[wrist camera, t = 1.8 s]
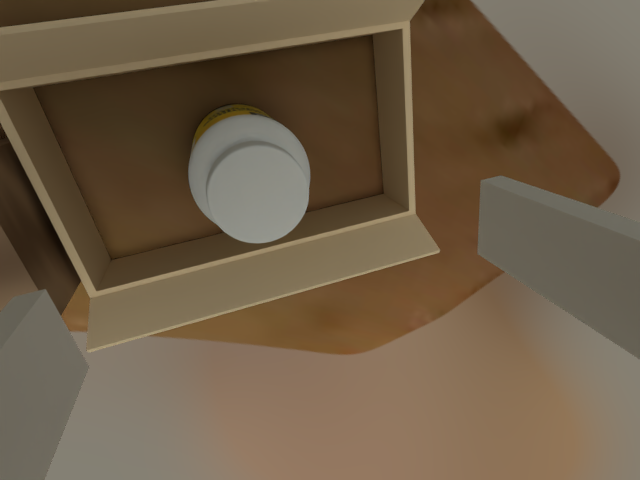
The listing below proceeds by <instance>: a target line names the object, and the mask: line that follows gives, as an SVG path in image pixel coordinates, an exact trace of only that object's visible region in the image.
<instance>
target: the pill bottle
mask: <svg viewBox="0 0 640 480" xmlns="http://www.w3.org/2000/svg"><path fill="white" fill-rule="evenodd" d="M188 179H189V186H190V190H191V193H192V196H193V198H194V200H195V202H196V204H197V205H198V207H199V208H200V210H201V211H202V212H203V213H204V214H205V216H207V217H208V218H209V219H210V220H211V221H212V222H214V223H215V224H217V225H218V226H219V227H220V228H221V229H222V230H223V231H224V232H225V233H227V234H228V235H229V236H231V237H233V238H235V239H237V240H240V241H243V242H247V243H267V242H271V241H274V240H277V239H279V238H281V237H283V236H285V235H287V234H288V233H289V232H290V231H292V230H293V229H294V228H295V227H296V226H297V224H298V223H299V222H300V220H301V219H302V217H303V216H304V214H305V211H306V209H307V206H308V200H309V185H310V167H309V161H308V158H307V155H306V152H305V150H304V148H303V146H302V145H301V143H300V141H299V140H298V139H297V138H296V136H295V135H294V134H293V133H292V132H291V131H290V130H289V129H287V128H286V127H285V126H284V125H282V124H281V123H279V122H278V121H276V120H275V119H273V118H272V117H271V116H269V115H268V114H266V113H265V112H263V111H262V110H260V109H258V108H255V107H253V106H249V105H244V104H230V105H225V106H222V107H219V108H217V109H215V110H213V111H212V112H210V113H209V114H208V115H207V116H206V117H205V118H204V119H203V120H202V121H201V123H200V124H199V126H198V128H197V130H196V132H195V135H194V138H193V143H192V148H191V154H190V160H189V166H188Z"/></svg>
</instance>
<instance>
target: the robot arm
mask: <svg viewBox="0 0 640 480" xmlns="http://www.w3.org/2000/svg"><path fill="white" fill-rule="evenodd" d="M478 254H479V255H480V256H482V257H483V258H485V259H486V260H488V261H489V262H491V263H492V264H494V265H495V266H497V267H499V268H500V269H502V270H503V271H505V272H506V273H508V274H509V275H511V276H513V277H514V278H515V279H517V280H519V281H520V282H522V283H523V284H525V285H526V286H528V287H529V288H531V289H532V290H534V291H535V292H537V293H538V294H540V295H542V296H543V297H545V298H546V299H548V300H549V301H551V302H552V303H554V304H555V305H557V306H558V307H560V308H562V309H563V310H565V311H566V312H568V313H569V314H571V315H572V316H574V317H575V318H577V319H578V320H580V321H581V322H583V323H585V324H586V325H588V326H589V327H591V328H592V329H594V330H595V331H597V332H598V333H600V334H602V335H603V336H604V337H606V338H608V339H609V340H611V341H612V342H614V343H615V344H617V345H619V346H620V347H621V348H623V349H625V350H626V351H628V352H629V353H631V354H632V355H634V356H635V357H637V358H638V359H640V222H638V221H635V220H632V219H629V218H626V217H623V216H620V215H617V214H614V213H611V212H608V211H605V210H602V209H599V208H596V207H593V206H590V205H587V204H584V203H581V202H578V201H575V200H572V199H569V198H566V197H563V196H560V195H557V194H554V193H551V192H548V191H545V190H542V189H540V188H537V187H534V186H531V185H528V184H525V183H522V182H519V181H516V180H513V179H510V178H507V177H504V176H497V177H493V178H489V179H485V180H481V190H480V212H479V234H478ZM88 368H89V366H88V364H87V362H86V360H85V358H84V357H83V355H82V353H81V351H80V349H79V348H78V346H77V344H76V342H75V341H74V339H73V337H72V335H71V333H70V332H69V330H68V328H67V326H66V324H65V323H64V321H63V319H62V317H61V316H60V314H59V312H58V310H57V308H56V307H55V305H54V303H53V301H52V299H51V298H50V296H49V294H48V292H47V291H46V289H43V290H39V291H35V292H31V293H27V294H23V295H19V296H15V297H13V298H12V299H11V300H10V301H9V303H8V304H7V305H6V306H5V307H4V308H3V310H2V311H1V312H0V480H44V479H45V476H46V474H47V471H48V469H49V466H50V464H51V462H52V459H53V457H54V454H55V451H56V449H57V446H58V444H59V441H60V439H61V436H62V434H63V431H64V429H65V426H66V424H67V421H68V419H69V416H70V414H71V411H72V409H73V406H74V404H75V401H76V398H77V396H78V394H79V391H80V389H81V386H82V383H83V381H84V378H85V376H86V373H87V371H88Z"/></svg>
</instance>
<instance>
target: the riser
mask: <svg viewBox="0 0 640 480" xmlns="http://www.w3.org/2000/svg"><path fill="white" fill-rule="evenodd" d="M80 282H81V279H80V277H79V275H78V273H77V271H76V269H75V267H74V266H73V264H72V262H71V260H70V258H69V256H68V254H67V252H66V250H65V248H64V246H63V244H62V242H61V240H60V238H59V236H58V234H57V232H56V230H55V228H54V226H53V225H52V223H51V221H50V219H49V217H48V215H47V213H46V211H45V209H44V207H43V205H42V203H41V201H40V199H39V197H38V195H37V193H36V191H35V189H34V187H33V185H32V184H31V182H30V180H29V178H28V176H27V174H26V172H25V170H24V168H23V166H22V164H21V162H20V160H19V158H18V156H17V154H16V152H15V150H14V148H13V146H12V144H11V142H10V141H9V139H8V138H5V139H0V312H1V311H2V310H3V308H4V307H5V306H6V305H7V304H8V303H9V301H10V300H11V299H12V298H13V297H15V296H19V295H23V294H27V293H31V292H35V291H39V290H43V289H46V291H47V292H48V294H49V296H50V298H51V299H52V301H53V303H54V305H55V307H56V308H57V310H58V312H59V314H60V316H61V315H62V313H63V311H64V309H65V308H66V306H67V304H68V302H69V301H70V299H71V297H72V296H73V294H74V292H75V290H76V289H77V287H78V285H79V283H80Z"/></svg>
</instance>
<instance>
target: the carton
mask: <svg viewBox="0 0 640 480" xmlns="http://www.w3.org/2000/svg"><path fill="white" fill-rule="evenodd" d="M424 1H425V0H215V1H207V2H199V3H191V4H183V5H175V6H167V7H159V8H151V9H144V10H136V11H128V12H120V13H112V14H104V15H96V16H88V17H80V18H72V19H64V20H56V21H48V22H40V23H32V24H24V25H16V26H8V27H0V123H1V125H2V127H3V129H4V131H5V133H6V135H7V137H8V139H9V141H10V142H11V144H12V146H13V148H14V150H15V152H16V154H17V156H18V158H19V160H20V162H21V164H22V166H23V168H24V170H25V172H26V174H27V176H28V178H29V180H30V182H31V184H32V185H33V187H34V189H35V191H36V193H37V195H38V197H39V199H40V201H41V203H42V205H43V207H44V209H45V211H46V213H47V215H48V217H49V219H50V221H51V223H52V225H53V226H54V228H55V230H56V232H57V234H58V236H59V238H60V240H61V242H62V244H63V246H64V248H65V250H66V252H67V254H68V256H69V258H70V260H71V262H72V264H73V266H74V267H75V269H76V271H77V273H78V275H79V277H80V279H81V281H82V283H83V285H84V287H85V289H86V291H87V293H88V295H89V297H90V307H89V320H88V333H87V347H86V351H88V352H93V351H96V350H100V349H103V348H107V347H110V346H114V345H117V344H121V343H124V342H128V341H131V340H134V339H138V338H142V337H145V336H149V335H152V334H156V333H159V332H163V331H166V330H170V329H173V328H177V327H180V326H184V325H187V324H191V323H194V322H198V321H201V320H205V319H208V318H212V317H215V316H219V315H222V314H226V313H229V312H233V311H236V310H240V309H243V308H247V307H250V306H254V305H257V304H261V303H264V302H268V301H271V300H275V299H278V298H282V297H285V296H289V295H292V294H296V293H299V292H303V291H306V290H310V289H313V288H317V287H320V286H324V285H327V284H331V283H334V282H338V281H341V280H345V279H348V278H352V277H355V276H359V275H362V274H366V273H369V272H373V271H376V270H380V269H383V268H387V267H390V266H394V265H397V264H401V263H404V262H408V261H411V260H415V259H418V258H422V257H425V256H429V255H432V254H436V253H439V251H440V249H439V248H438V246H437V245H436V243H435V242H434V240H433V239H432V237H431V236H430V234H429V233H428V231H427V230H426V228H425V227H424V225H423V224H422V222H421V221H420V219H419V218H418V217H417V215H416V214H415V181H414V147H413V114H412V80H411V47H410V20H411V19H412V17H413V16H414V14H415V13H416V12H417V10H418V9H419V8H420V6H421V5H422V3H423V2H424ZM368 35H373V48H374V63H375V77H376V91H377V106H378V120H379V134H380V149H381V163H382V177H383V192H384V194H380V195H376V196H372V197H368V198H364V199H360V200H356V201H351V202H347V203H343V204H339V205H335V206H331V207H327V208H323V209H319V210H315V211H310V212H306V213H305V214H304V216H303V217H302V219H301V220H300V222H299V223H298V224H297V226H296V227H295V228H294V229H293V230H292V231H290V232H289V233H288V234H287V235H285V236H283V237H281V238H279V239H277V240H274V241H271V242H267V243H247V242H243V241H240V240H237V239H235V238H233V237H231V236H229V235H228V234H227V233H225V232H224V233H220V234H216V235H212V236H208V237H204V238H200V239H196V240H192V241H188V242H184V243H179V244H175V245H171V246H167V247H163V248H159V249H155V250H151V251H147V252H143V253H138V254H134V255H130V256H126V257H122V258H118V259H114V260H111V258H110V256H109V254H108V252H107V249H106V247H105V245H104V243H103V241H102V238H101V236H100V234H99V232H98V230H97V227H96V225H95V223H94V221H93V219H92V216H91V214H90V212H89V210H88V208H87V205H86V203H85V201H84V199H83V197H82V195H81V192H80V190H79V188H78V186H77V184H76V181H75V179H74V177H73V175H72V173H71V170H70V168H69V166H68V164H67V162H66V159H65V157H64V155H63V153H62V151H61V148H60V146H59V144H58V142H57V140H56V137H55V135H54V133H53V131H52V129H51V126H50V124H49V122H48V120H47V118H46V115H45V113H44V111H43V109H42V107H41V105H40V102H39V100H38V98H37V96H36V94H35V91H34V89H33V88H34V87H40V86H47V85H53V84H59V83H66V82H72V81H79V80H85V79H92V78H98V77H104V76H111V75H117V74H124V73H130V72H137V71H143V70H149V69H156V68H162V67H169V66H175V65H182V64H188V63H195V62H201V61H207V60H214V59H220V58H227V57H233V56H240V55H246V54H252V53H259V52H265V51H272V50H278V49H285V48H291V47H297V46H304V45H310V44H317V43H323V42H330V41H336V40H342V39H349V38H355V37H362V36H368Z"/></svg>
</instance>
